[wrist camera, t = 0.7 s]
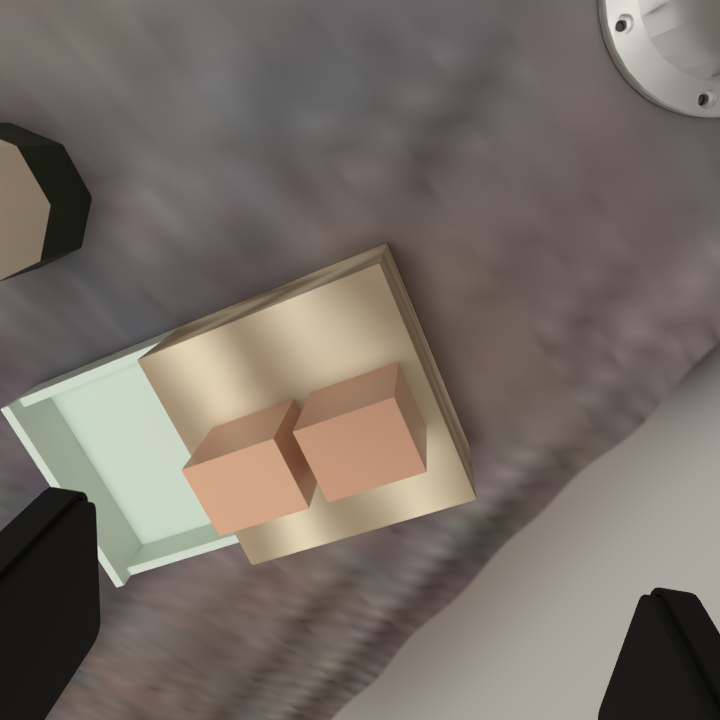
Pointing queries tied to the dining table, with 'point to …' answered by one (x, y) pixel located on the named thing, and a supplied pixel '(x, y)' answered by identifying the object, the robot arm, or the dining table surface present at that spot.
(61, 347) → the dining table surface
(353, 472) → the block
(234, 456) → the block
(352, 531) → the plate
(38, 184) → the wine bottle
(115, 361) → the tray
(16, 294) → the dining table surface
